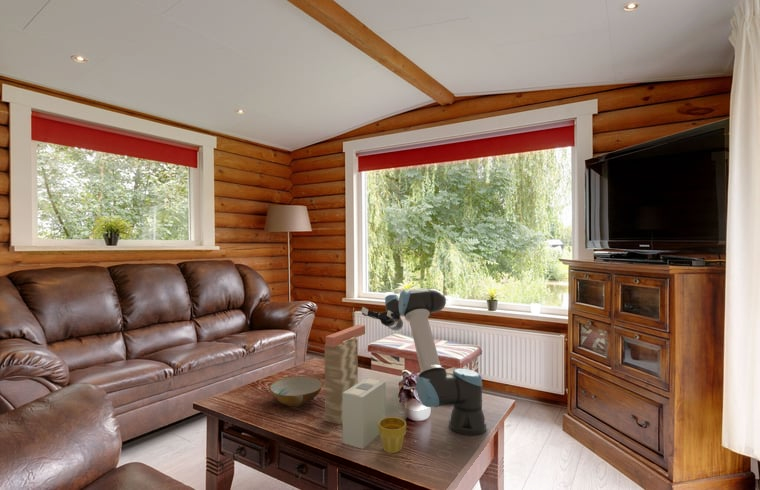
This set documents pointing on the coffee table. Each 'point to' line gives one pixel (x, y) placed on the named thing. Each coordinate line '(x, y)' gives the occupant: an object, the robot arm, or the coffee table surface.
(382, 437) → the plant pot
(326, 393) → the birch stand
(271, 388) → the bowl
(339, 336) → the coral square-faced block
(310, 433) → the coffee table surface
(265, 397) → the coffee table surface
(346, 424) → the pale green paneled block
